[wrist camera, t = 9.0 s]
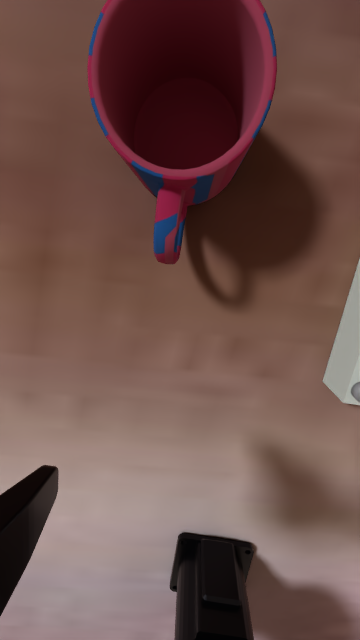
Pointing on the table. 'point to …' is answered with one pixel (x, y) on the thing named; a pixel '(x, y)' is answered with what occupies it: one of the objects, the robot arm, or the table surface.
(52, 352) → the table surface
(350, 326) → the grey tray
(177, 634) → the robot arm
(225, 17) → the mug
